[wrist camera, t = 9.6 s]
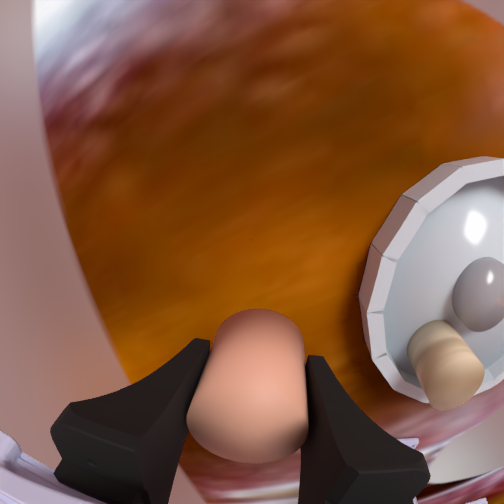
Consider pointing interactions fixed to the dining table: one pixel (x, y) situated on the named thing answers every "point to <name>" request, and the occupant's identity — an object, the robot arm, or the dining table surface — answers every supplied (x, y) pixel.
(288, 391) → the ball
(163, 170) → the dining table surface
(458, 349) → the maple bead
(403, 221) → the groove tray
